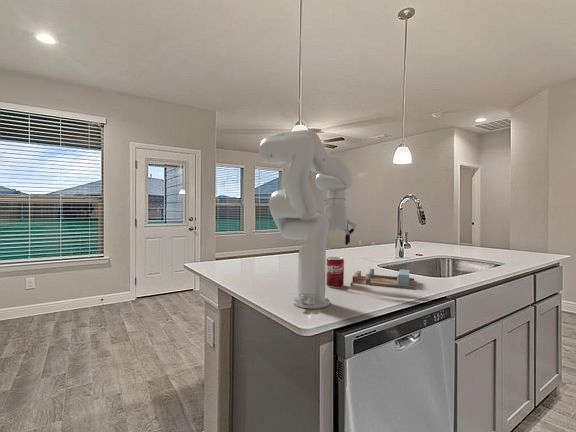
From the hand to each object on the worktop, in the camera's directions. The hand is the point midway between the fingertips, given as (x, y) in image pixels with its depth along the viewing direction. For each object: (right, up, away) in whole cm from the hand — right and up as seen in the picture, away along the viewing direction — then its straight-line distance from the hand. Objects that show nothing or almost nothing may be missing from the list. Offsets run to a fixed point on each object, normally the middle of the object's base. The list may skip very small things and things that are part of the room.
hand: (335, 243), depth 134 cm
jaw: (+29, -17, +1) cm, 34 cm away
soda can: (0, -18, +1) cm, 18 cm away
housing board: (+22, -18, +4) cm, 28 cm away
